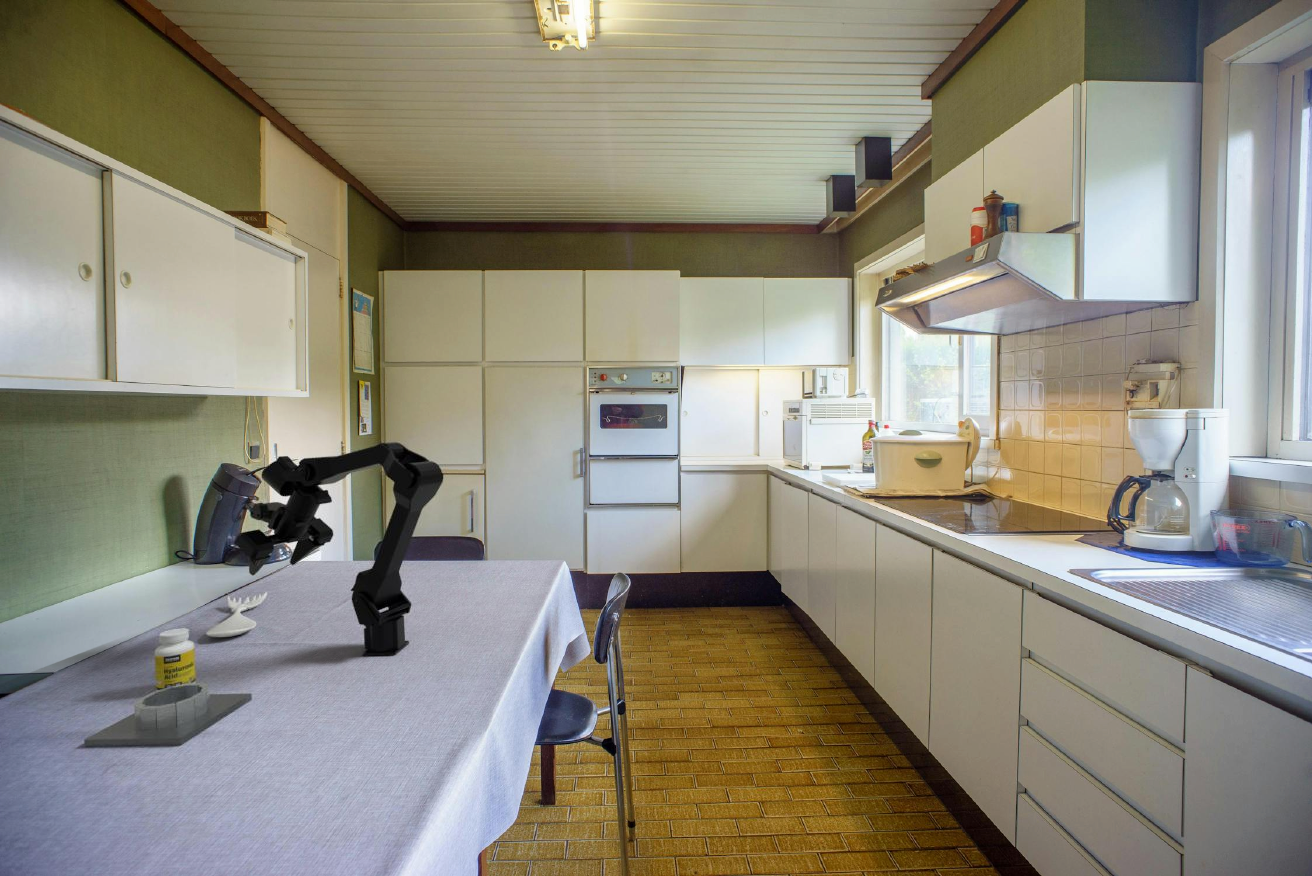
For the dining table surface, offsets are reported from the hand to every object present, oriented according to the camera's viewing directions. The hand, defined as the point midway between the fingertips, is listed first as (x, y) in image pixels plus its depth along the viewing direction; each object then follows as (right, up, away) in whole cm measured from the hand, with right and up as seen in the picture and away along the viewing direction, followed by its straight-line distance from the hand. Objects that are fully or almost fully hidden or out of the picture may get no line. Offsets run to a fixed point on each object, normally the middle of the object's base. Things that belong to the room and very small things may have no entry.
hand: (272, 568), depth 128 cm
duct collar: (+9, -15, -37) cm, 41 cm away
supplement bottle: (-1, -16, -24) cm, 29 cm away
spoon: (-16, -15, +12) cm, 25 cm away
